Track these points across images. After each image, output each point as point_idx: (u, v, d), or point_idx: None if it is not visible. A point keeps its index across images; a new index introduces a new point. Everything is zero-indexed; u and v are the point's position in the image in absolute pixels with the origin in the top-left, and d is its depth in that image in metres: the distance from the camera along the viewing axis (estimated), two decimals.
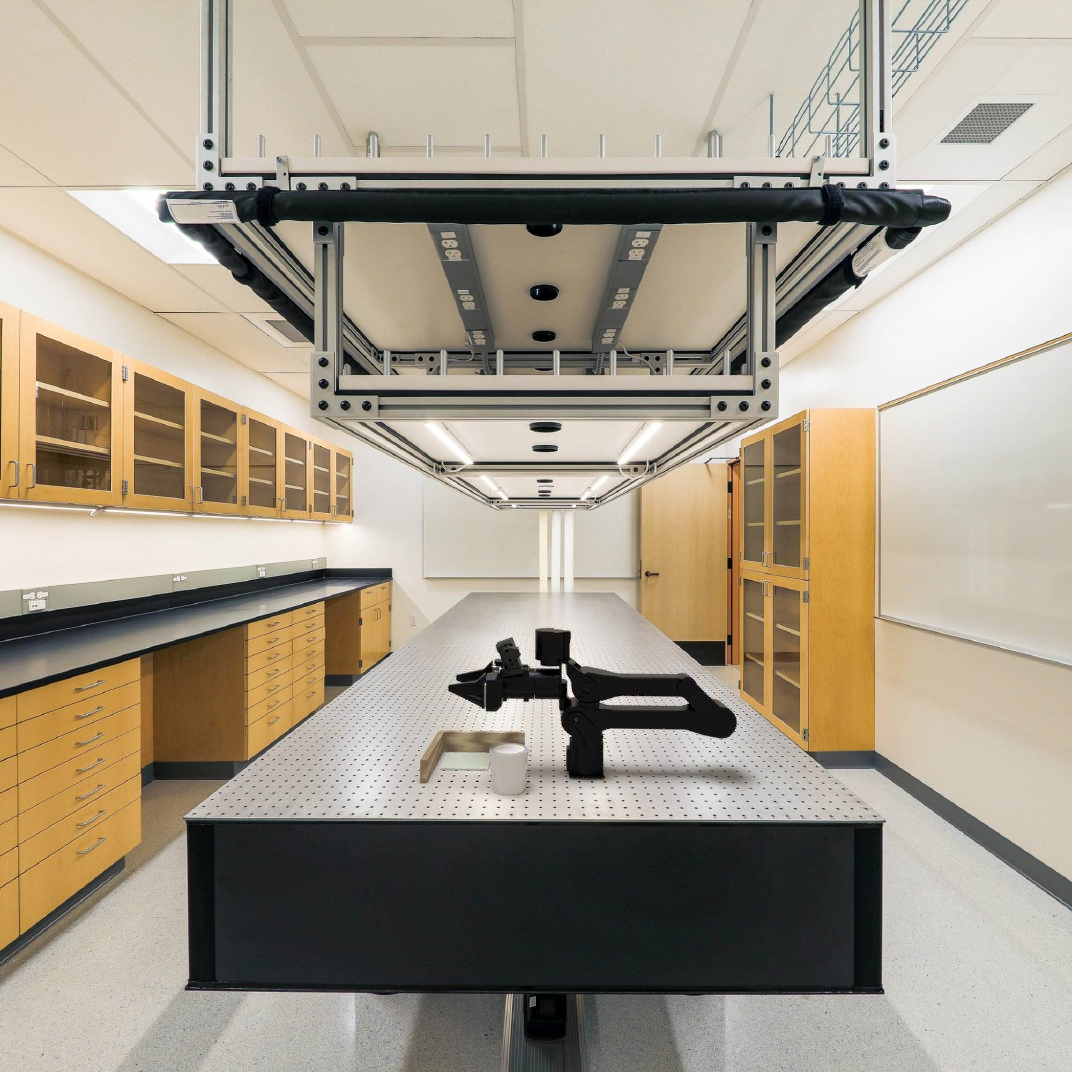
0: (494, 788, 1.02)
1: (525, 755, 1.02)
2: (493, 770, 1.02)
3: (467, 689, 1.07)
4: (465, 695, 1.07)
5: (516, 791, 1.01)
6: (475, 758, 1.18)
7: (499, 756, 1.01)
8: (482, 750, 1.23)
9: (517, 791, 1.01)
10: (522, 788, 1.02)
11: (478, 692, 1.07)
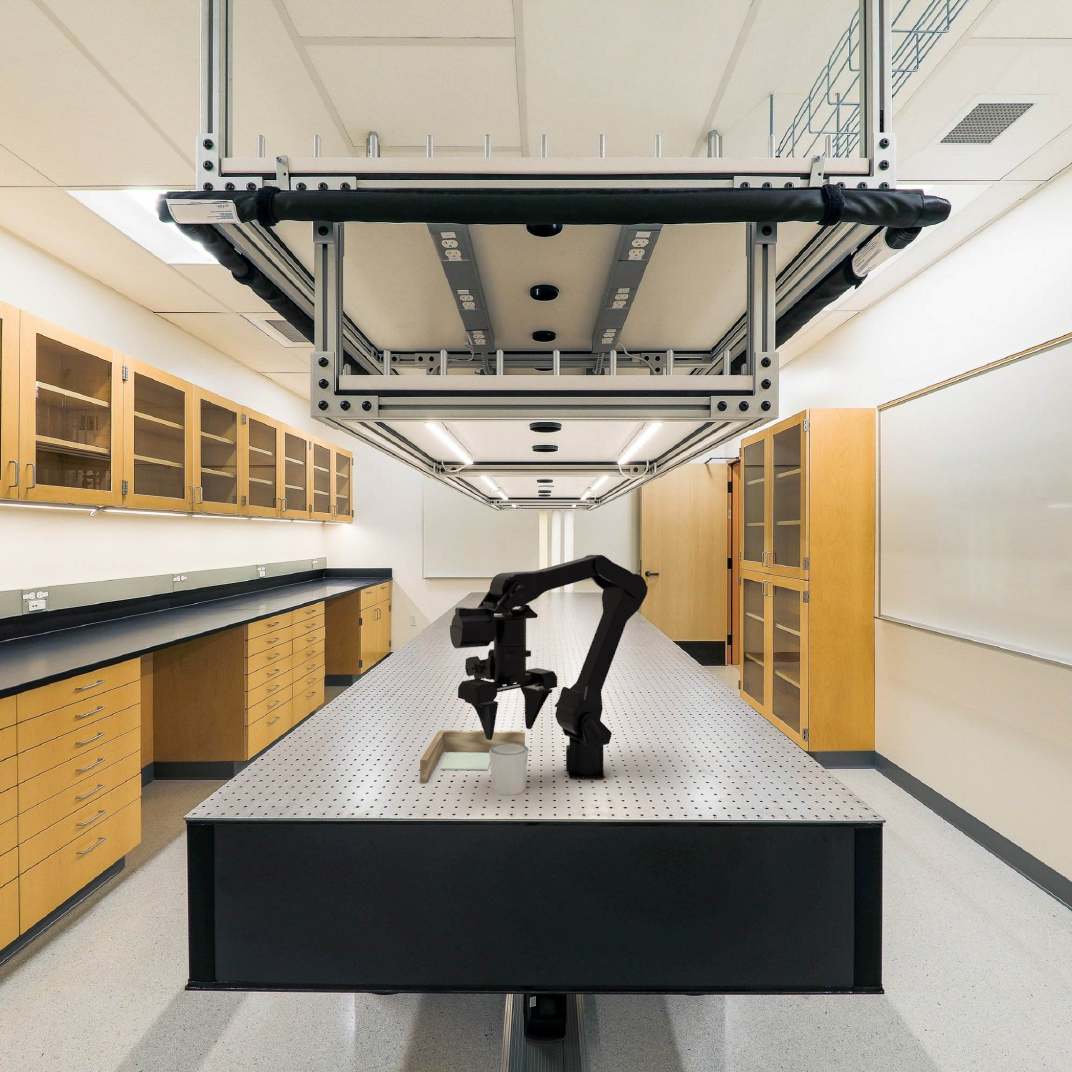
0: (494, 788, 1.02)
1: (525, 755, 1.02)
2: (493, 770, 1.02)
3: (483, 718, 1.00)
4: (487, 721, 0.99)
5: (516, 791, 1.01)
6: (475, 758, 1.18)
7: (499, 756, 1.01)
8: (482, 750, 1.23)
9: (517, 791, 1.01)
10: (522, 788, 1.02)
11: (485, 708, 1.00)
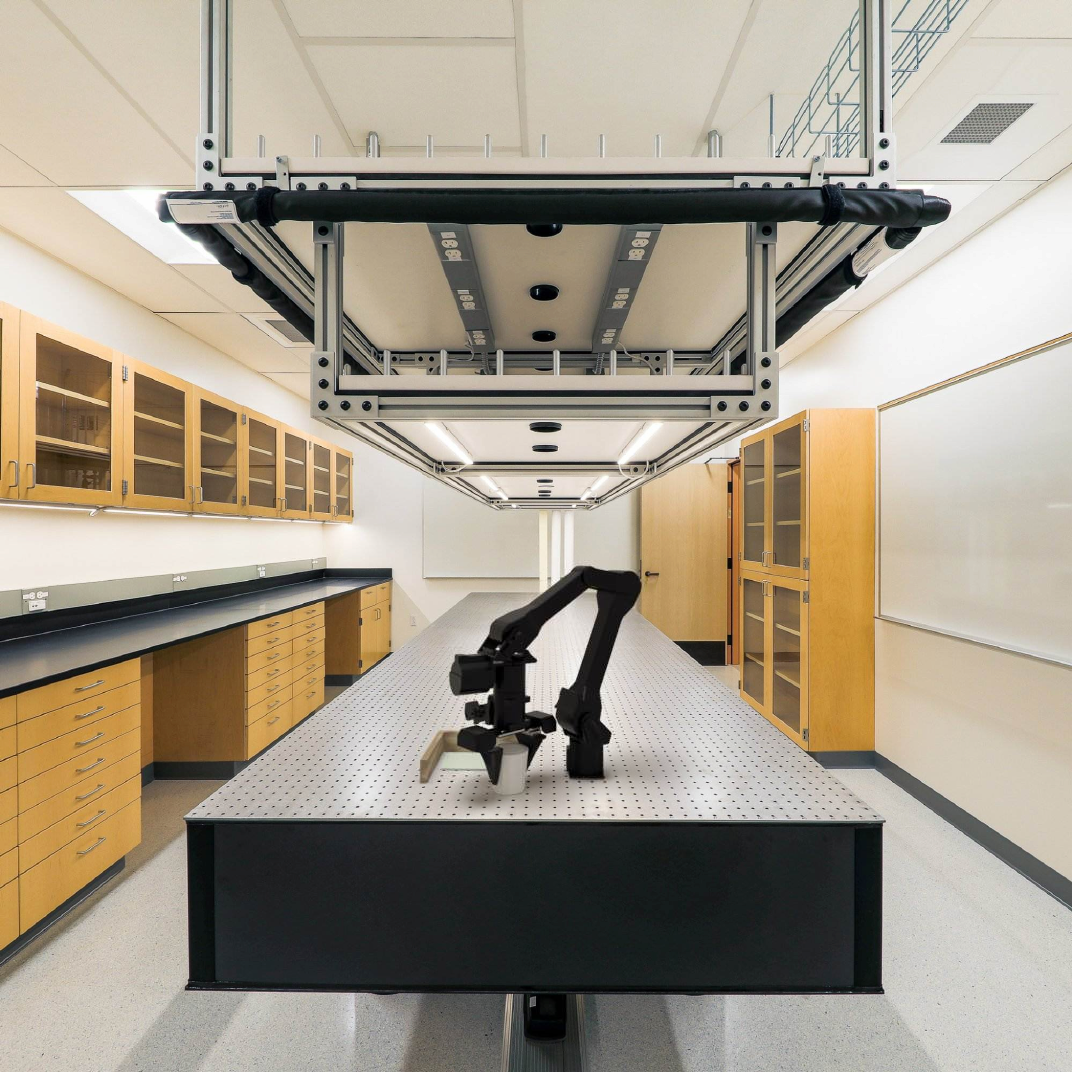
0: (494, 788, 1.02)
1: (525, 755, 1.02)
2: None
3: (488, 764, 1.01)
4: (492, 767, 1.00)
5: (516, 791, 1.01)
6: (475, 758, 1.18)
7: None
8: None
9: (517, 791, 1.01)
10: (522, 788, 1.02)
11: None
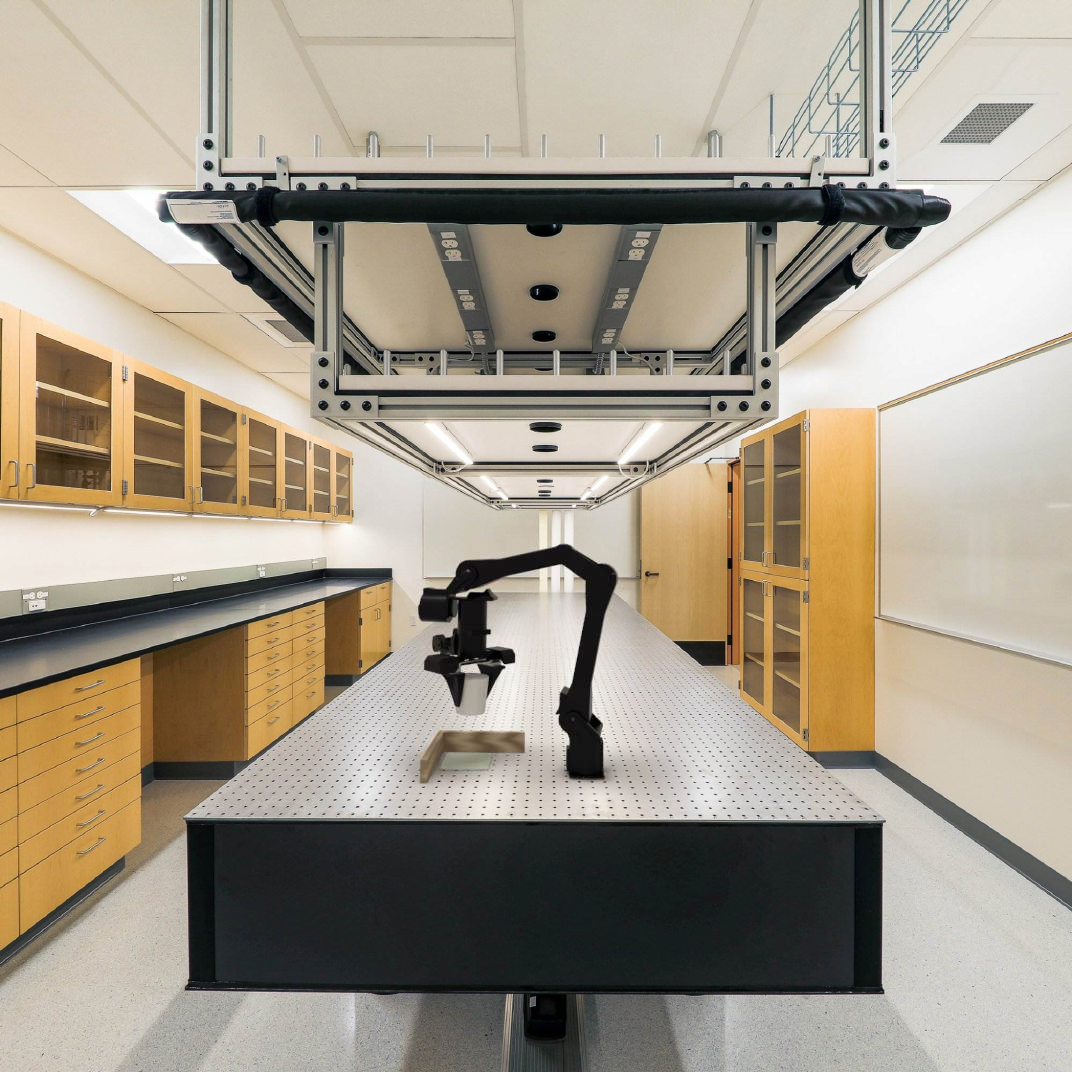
0: (457, 710, 1.14)
1: (485, 681, 1.14)
2: None
3: (452, 688, 1.13)
4: (455, 690, 1.12)
5: (477, 712, 1.13)
6: (475, 758, 1.18)
7: None
8: (482, 750, 1.23)
9: (478, 712, 1.13)
10: (482, 710, 1.14)
11: (454, 678, 1.12)
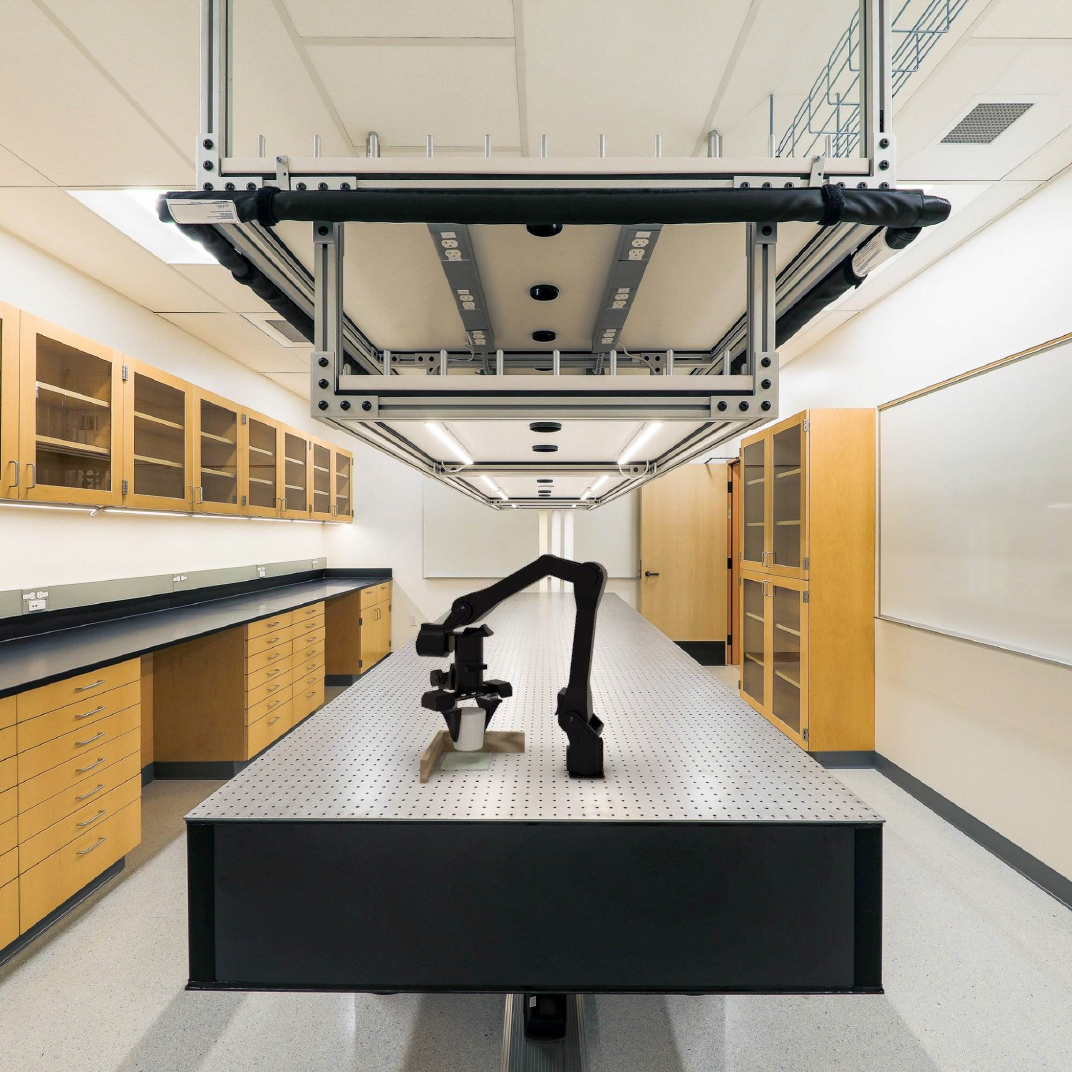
0: (455, 745, 1.15)
1: (482, 716, 1.16)
2: None
3: (449, 723, 1.14)
4: (453, 726, 1.13)
5: (474, 747, 1.15)
6: (475, 758, 1.18)
7: None
8: (482, 750, 1.23)
9: (475, 747, 1.15)
10: (480, 745, 1.16)
11: (451, 714, 1.14)
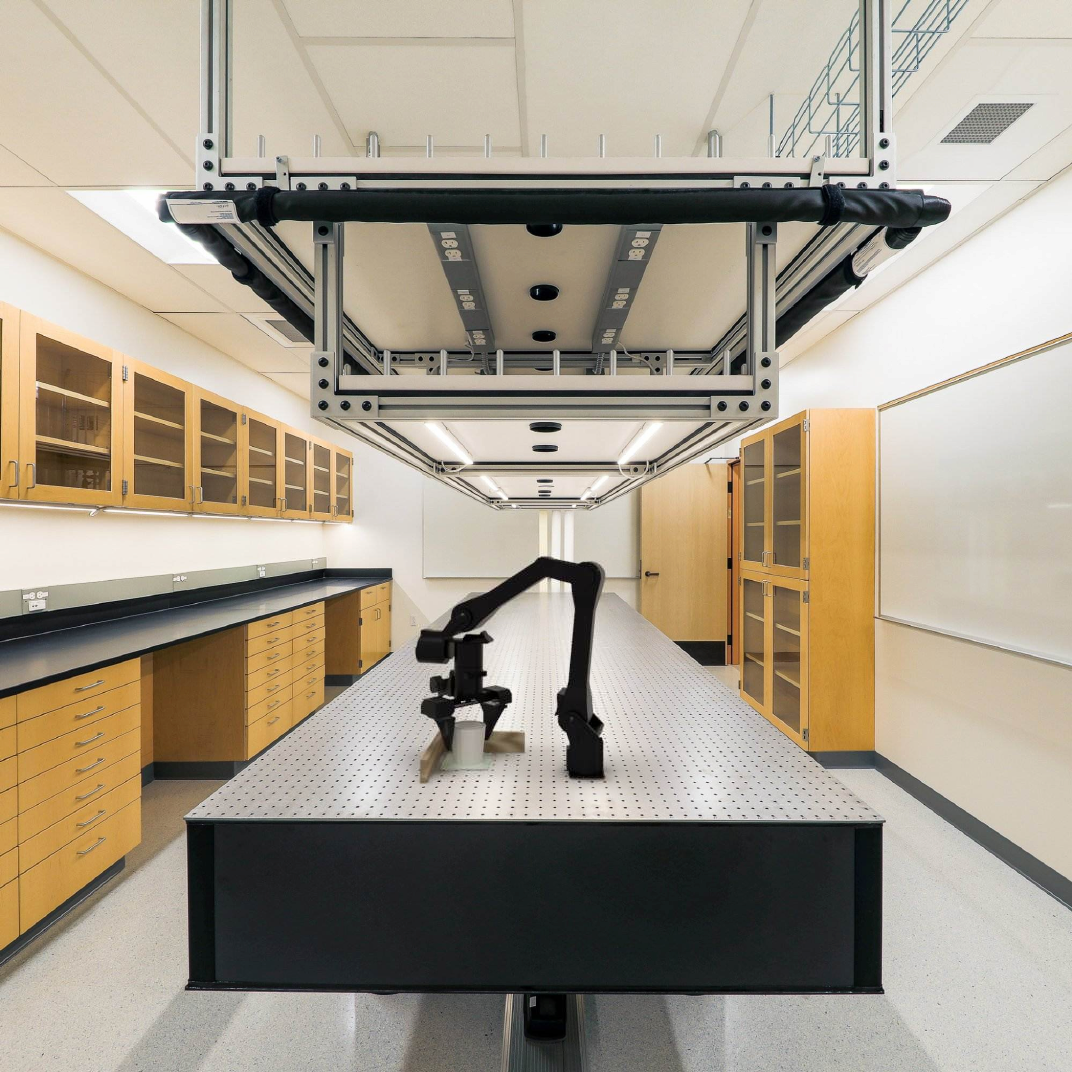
0: (455, 759, 1.15)
1: (482, 730, 1.16)
2: (454, 743, 1.15)
3: (443, 732, 1.13)
4: (446, 734, 1.12)
5: (474, 762, 1.14)
6: None
7: (459, 731, 1.14)
8: None
9: (475, 762, 1.15)
10: (479, 759, 1.16)
11: (445, 722, 1.13)
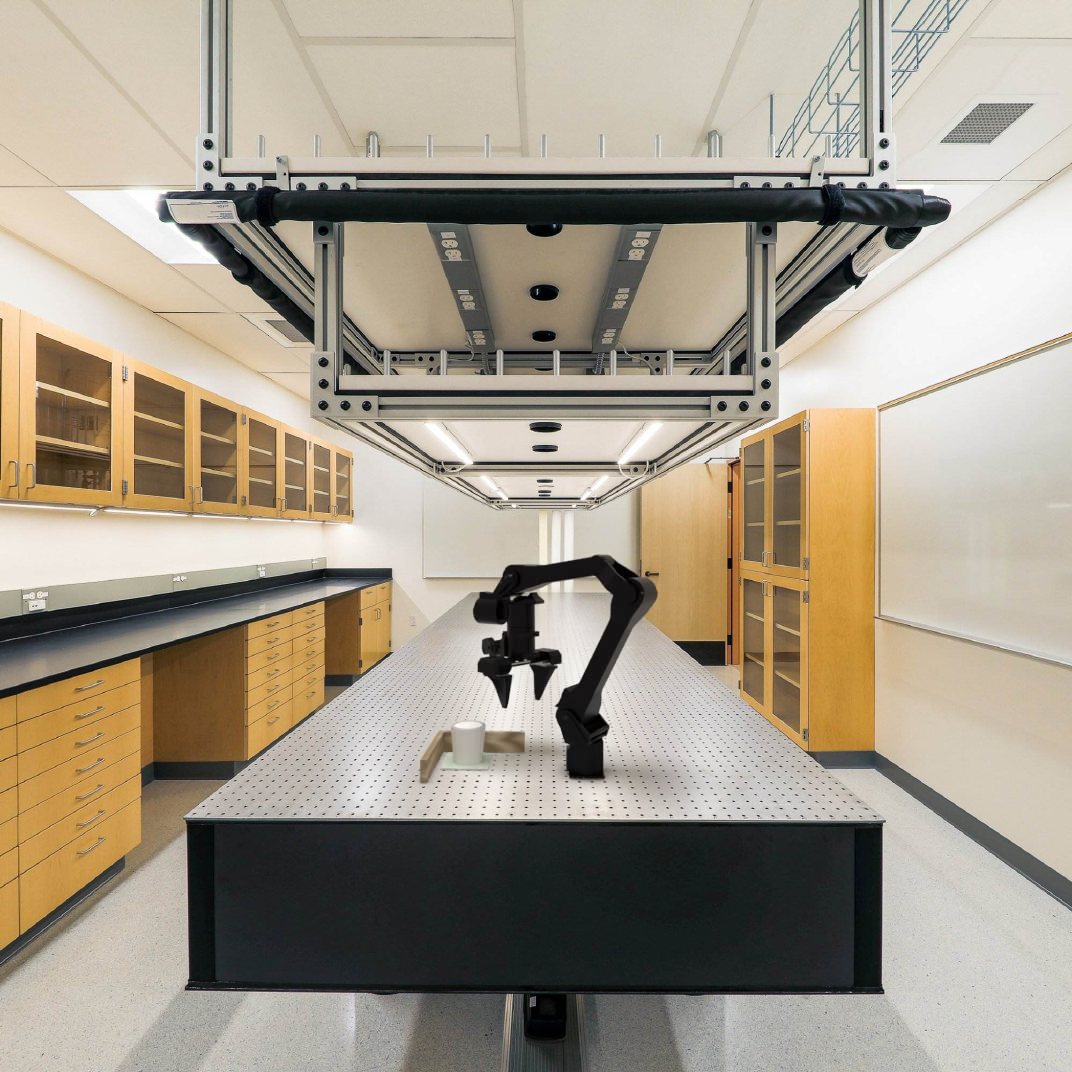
0: (455, 759, 1.15)
1: (482, 730, 1.16)
2: (454, 743, 1.15)
3: (499, 690, 1.16)
4: (503, 692, 1.15)
5: (474, 762, 1.14)
6: None
7: (459, 731, 1.14)
8: None
9: (475, 762, 1.15)
10: (479, 759, 1.16)
11: (501, 680, 1.15)
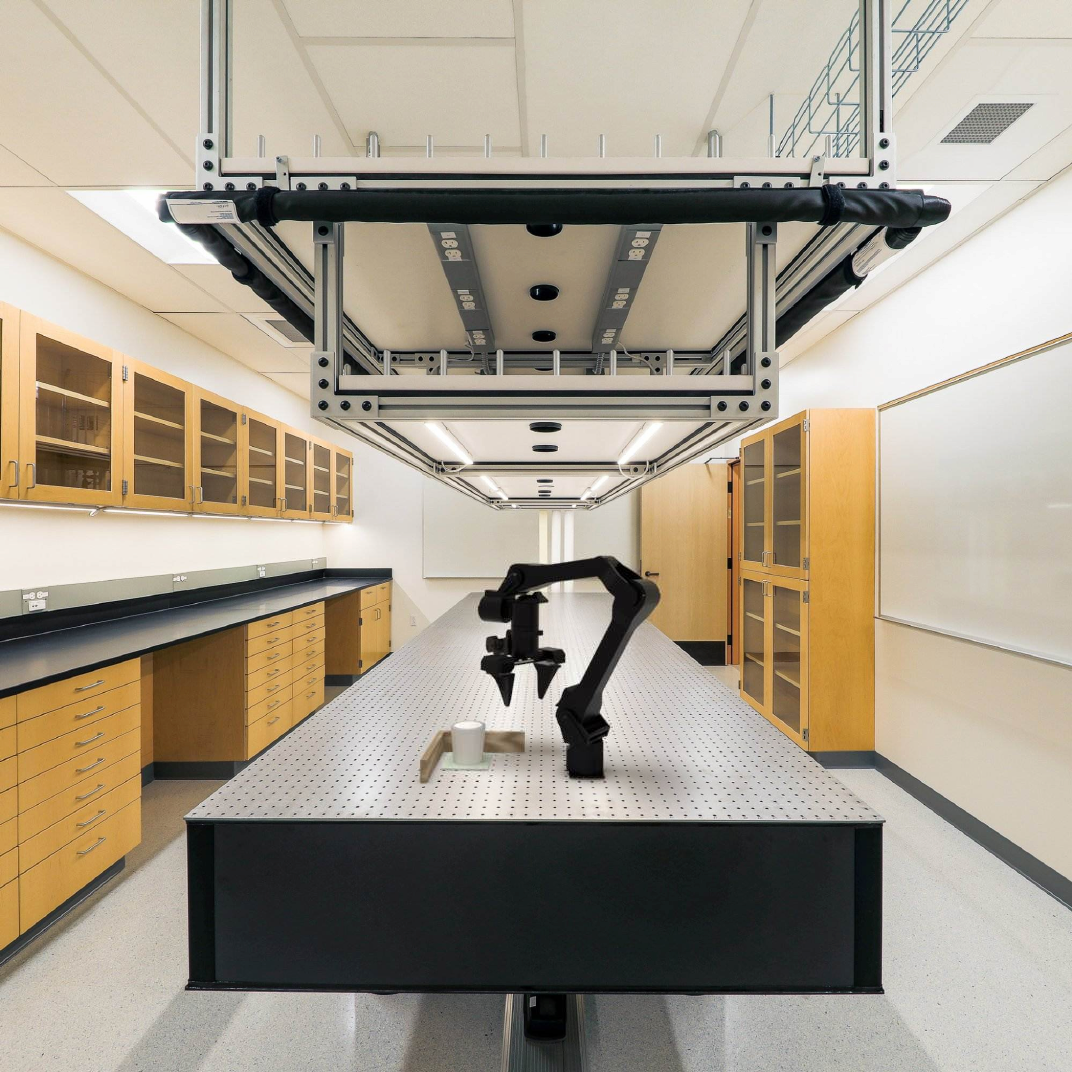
0: (455, 759, 1.15)
1: (482, 730, 1.16)
2: (454, 743, 1.15)
3: (502, 688, 1.16)
4: (505, 690, 1.15)
5: (474, 762, 1.14)
6: None
7: (459, 731, 1.14)
8: None
9: (475, 762, 1.15)
10: (479, 759, 1.16)
11: (504, 679, 1.16)
